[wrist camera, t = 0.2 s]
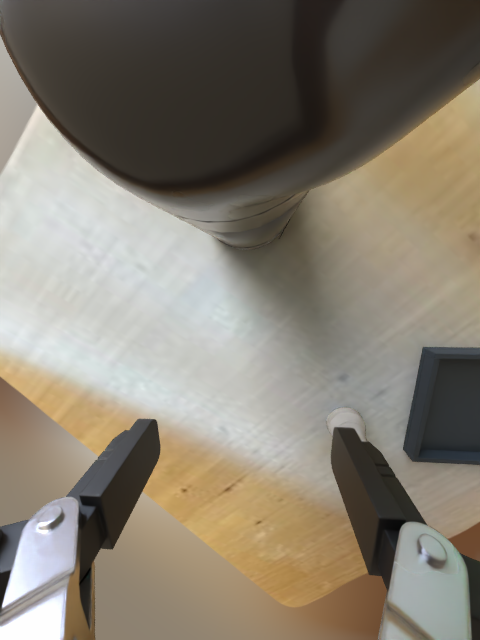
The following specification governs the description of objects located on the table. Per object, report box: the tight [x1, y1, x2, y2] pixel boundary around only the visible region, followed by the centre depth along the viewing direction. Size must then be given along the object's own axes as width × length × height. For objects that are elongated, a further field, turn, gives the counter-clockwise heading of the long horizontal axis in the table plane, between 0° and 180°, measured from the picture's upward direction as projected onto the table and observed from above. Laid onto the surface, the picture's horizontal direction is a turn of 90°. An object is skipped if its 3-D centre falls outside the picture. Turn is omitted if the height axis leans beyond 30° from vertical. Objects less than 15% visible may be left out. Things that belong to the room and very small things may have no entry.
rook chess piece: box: [326, 407, 367, 442], centre depth 25 cm, size 4×4×8 cm
